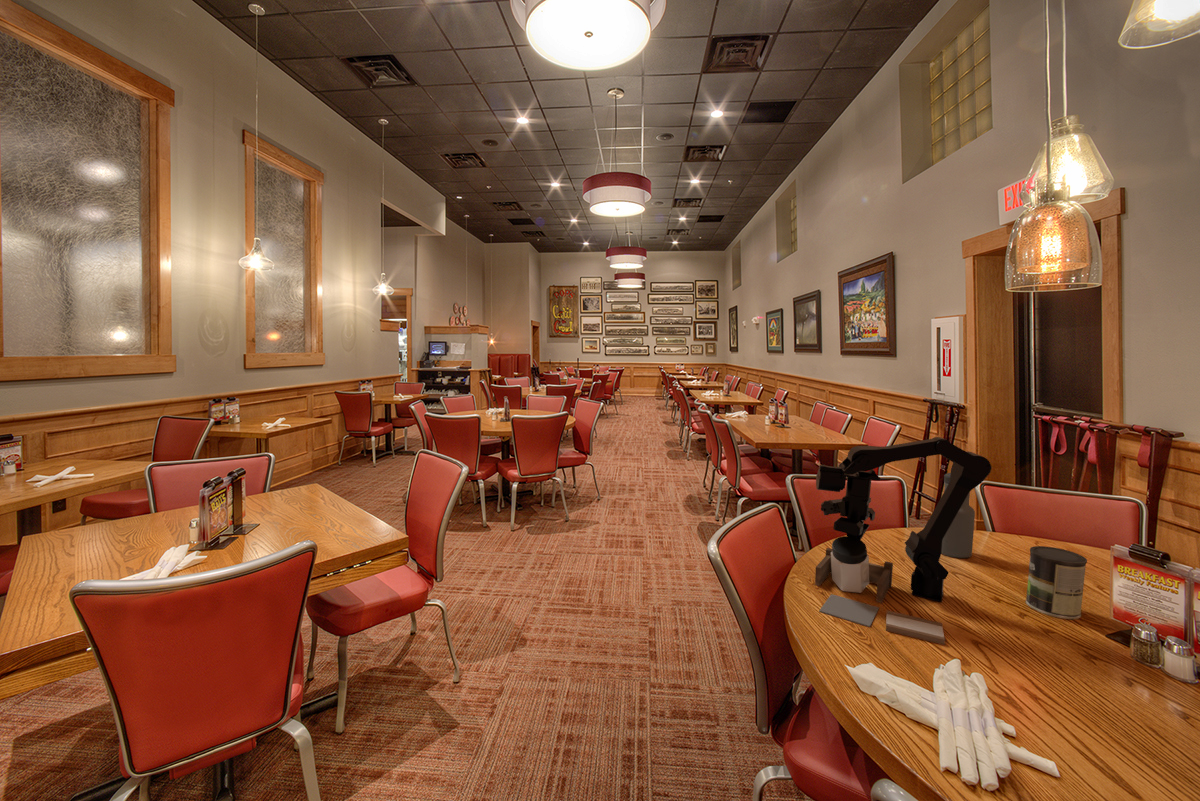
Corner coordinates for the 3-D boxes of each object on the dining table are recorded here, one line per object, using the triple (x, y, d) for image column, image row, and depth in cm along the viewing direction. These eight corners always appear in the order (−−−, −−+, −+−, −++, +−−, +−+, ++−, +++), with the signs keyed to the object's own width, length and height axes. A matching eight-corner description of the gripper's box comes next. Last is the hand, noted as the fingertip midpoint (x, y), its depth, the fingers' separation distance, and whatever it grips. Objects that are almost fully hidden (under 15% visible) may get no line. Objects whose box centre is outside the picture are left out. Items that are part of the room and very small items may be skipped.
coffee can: (1023, 608, 123) (1027, 553, 122) (1027, 594, 130) (1032, 542, 129) (1081, 624, 116) (1086, 566, 114) (1082, 609, 123) (1087, 554, 122)
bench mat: (878, 608, 122) (878, 607, 122) (869, 627, 114) (869, 625, 114) (831, 595, 129) (831, 594, 129) (819, 611, 121) (819, 610, 121)
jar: (857, 598, 128) (856, 562, 124) (827, 584, 135) (825, 549, 130) (874, 578, 133) (873, 542, 129) (844, 565, 139) (842, 531, 135)
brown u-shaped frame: (891, 585, 135) (892, 562, 134) (882, 603, 125) (884, 579, 124) (826, 569, 145) (827, 547, 145) (813, 584, 135) (814, 561, 135)
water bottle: (934, 544, 165) (940, 461, 163) (971, 551, 160) (977, 465, 157) (933, 554, 157) (939, 467, 155) (972, 561, 151) (978, 471, 149)
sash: (941, 627, 114) (942, 622, 114) (944, 645, 107) (945, 639, 107) (886, 614, 119) (886, 610, 119) (885, 630, 113) (886, 625, 112)
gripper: (835, 481, 145) (830, 532, 147) (815, 494, 131) (810, 551, 133) (878, 489, 138) (872, 543, 140) (862, 504, 124) (856, 564, 125)
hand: (852, 549), depth 135 cm, fingers closed
